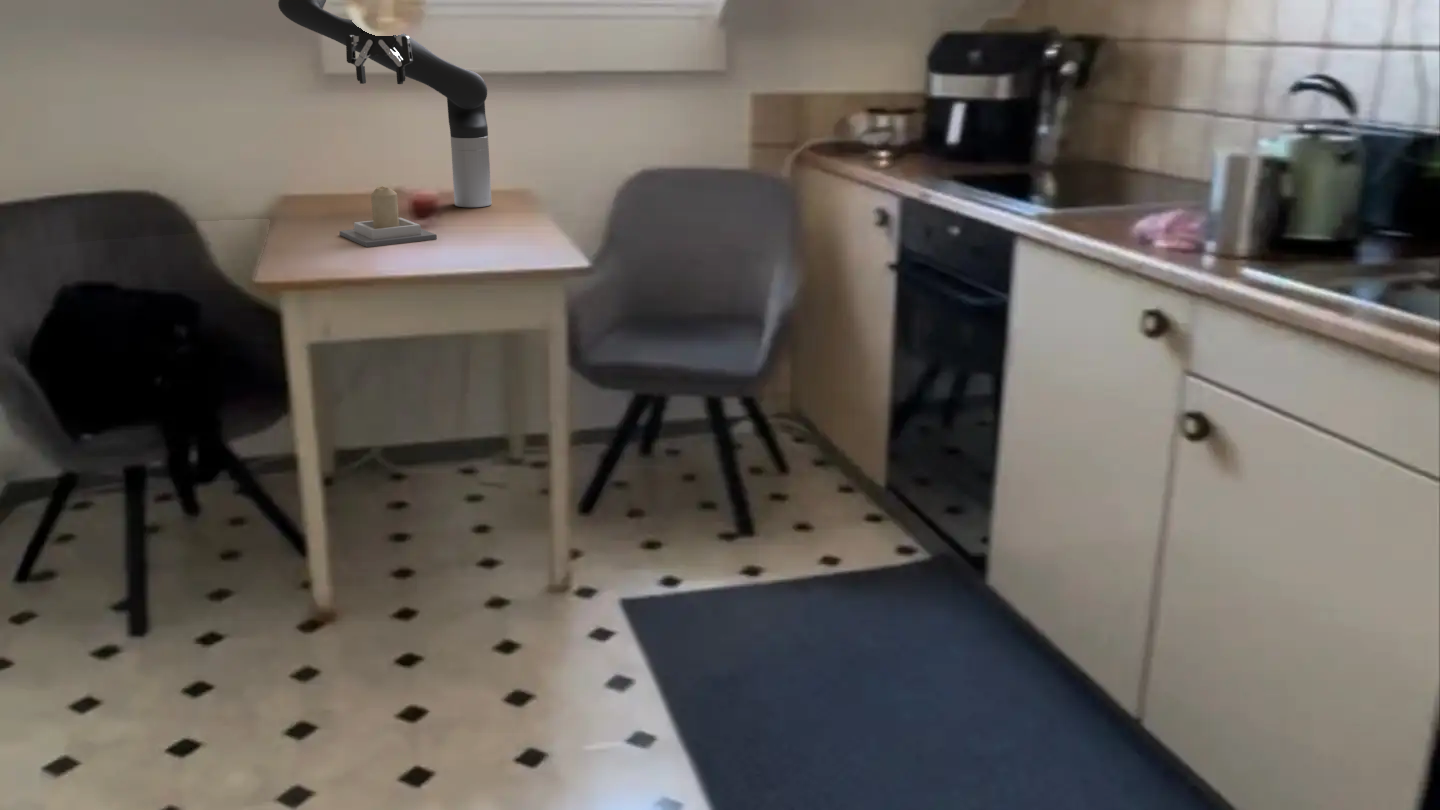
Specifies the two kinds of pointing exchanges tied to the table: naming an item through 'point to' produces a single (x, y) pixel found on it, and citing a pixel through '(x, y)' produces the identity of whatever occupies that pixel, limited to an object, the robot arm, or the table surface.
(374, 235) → the candle tray
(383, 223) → the candle
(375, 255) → the table surface
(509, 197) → the table surface
